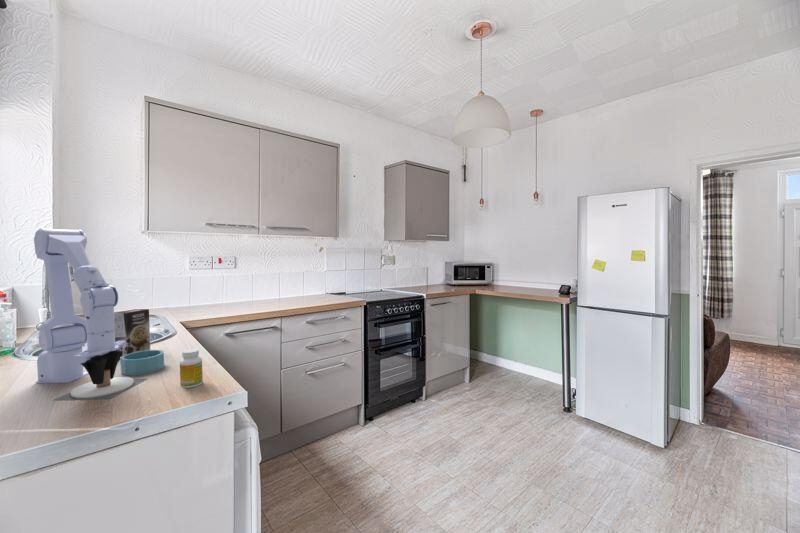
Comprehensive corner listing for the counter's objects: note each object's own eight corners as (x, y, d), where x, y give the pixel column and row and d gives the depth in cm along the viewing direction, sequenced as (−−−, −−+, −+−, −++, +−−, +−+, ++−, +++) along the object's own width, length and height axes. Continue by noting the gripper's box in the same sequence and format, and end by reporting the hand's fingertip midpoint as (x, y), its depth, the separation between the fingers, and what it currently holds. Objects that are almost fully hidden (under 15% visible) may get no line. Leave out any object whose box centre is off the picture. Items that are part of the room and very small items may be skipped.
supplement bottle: (198, 387, 96) (197, 352, 95) (176, 389, 95) (175, 354, 94) (205, 380, 101) (204, 347, 100) (185, 381, 100) (184, 348, 99)
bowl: (112, 376, 104) (111, 360, 104) (138, 365, 115) (137, 350, 115) (149, 376, 105) (148, 359, 104) (171, 364, 115) (171, 349, 115)
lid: (56, 399, 88) (55, 380, 87) (98, 380, 101) (97, 363, 100) (109, 398, 88) (108, 379, 88) (144, 379, 101) (144, 362, 101)
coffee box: (128, 358, 122) (126, 313, 121) (113, 357, 123) (111, 312, 123) (151, 351, 131) (149, 308, 130) (137, 350, 132) (135, 308, 132)
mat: (52, 401, 87) (52, 400, 87) (98, 380, 101) (98, 379, 101) (109, 400, 88) (109, 398, 88) (147, 379, 102) (147, 378, 102)
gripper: (93, 338, 87) (96, 391, 87) (135, 325, 101) (137, 371, 102) (64, 338, 86) (67, 392, 87) (110, 325, 101) (112, 372, 101)
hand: (103, 381), depth 94 cm, fingers closed on lid, 3 cm apart
